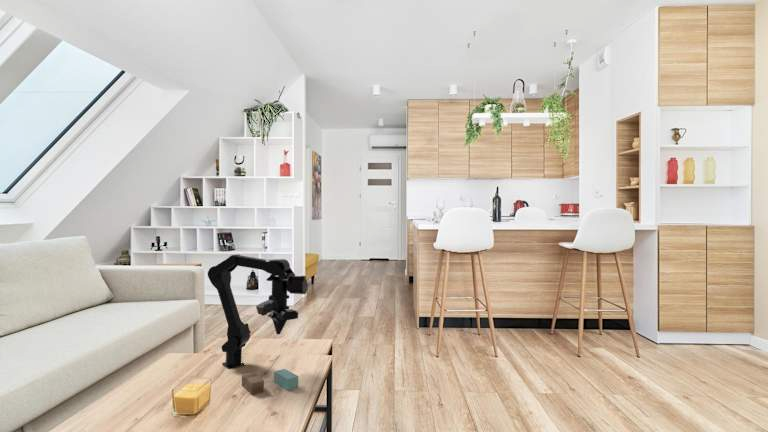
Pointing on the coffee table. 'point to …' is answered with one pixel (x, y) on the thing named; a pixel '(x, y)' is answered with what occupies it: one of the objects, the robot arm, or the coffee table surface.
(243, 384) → the walnut block
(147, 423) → the coffee table surface
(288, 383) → the teal block
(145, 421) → the coffee table surface
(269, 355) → the coffee table surface
